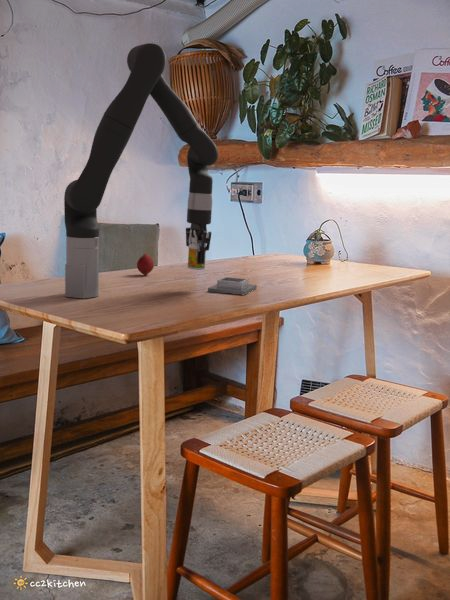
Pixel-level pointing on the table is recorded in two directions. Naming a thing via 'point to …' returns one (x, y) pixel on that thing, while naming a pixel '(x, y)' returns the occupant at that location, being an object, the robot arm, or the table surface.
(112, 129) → the robot arm
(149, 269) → the red fruit
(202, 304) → the table surface
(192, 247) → the supplement bottle
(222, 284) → the plate
